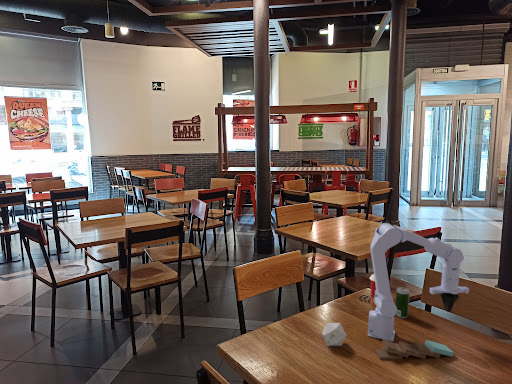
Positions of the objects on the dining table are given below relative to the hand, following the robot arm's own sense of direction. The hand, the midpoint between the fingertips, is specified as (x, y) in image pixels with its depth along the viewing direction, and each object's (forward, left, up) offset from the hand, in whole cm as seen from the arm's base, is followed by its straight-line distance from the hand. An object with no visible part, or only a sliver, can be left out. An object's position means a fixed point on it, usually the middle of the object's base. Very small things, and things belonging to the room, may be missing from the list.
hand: (447, 310), depth 140 cm
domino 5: (+1, -13, -10) cm, 16 cm away
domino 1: (-15, -22, -10) cm, 28 cm away
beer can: (-17, +10, -11) cm, 22 cm away
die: (-38, -25, -11) cm, 47 cm away
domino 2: (-13, -20, -9) cm, 26 cm away
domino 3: (-8, -18, -10) cm, 22 cm away
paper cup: (-28, +16, -11) cm, 34 cm away
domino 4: (-4, -15, -10) cm, 19 cm away
